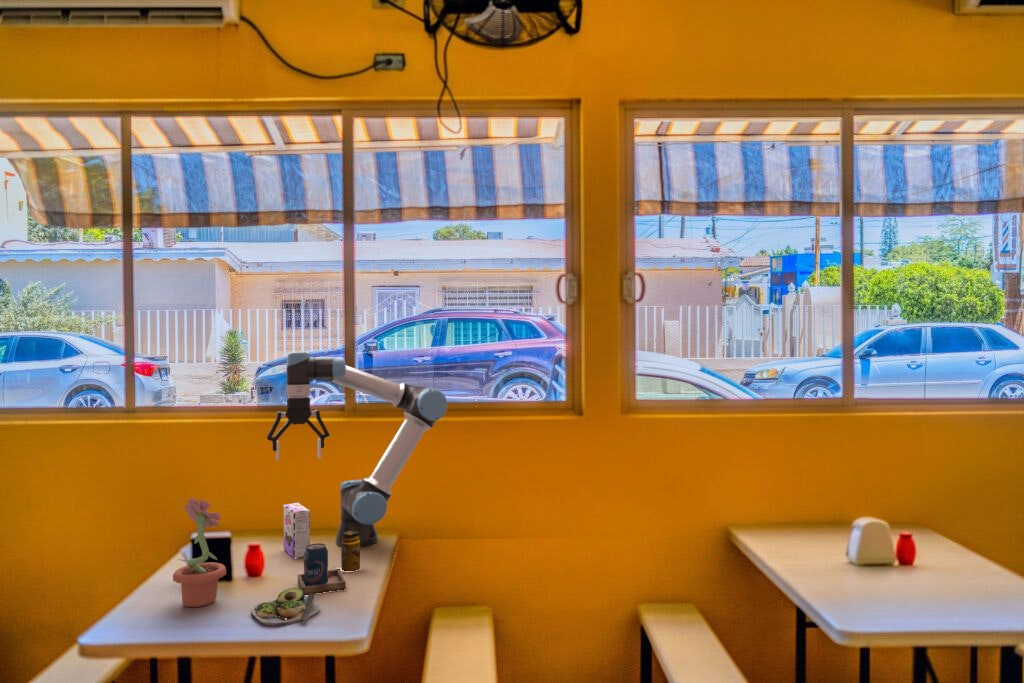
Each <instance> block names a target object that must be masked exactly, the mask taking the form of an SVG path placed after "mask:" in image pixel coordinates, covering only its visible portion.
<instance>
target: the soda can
mask: <svg viewBox="0 0 1024 683" xmlns="http://www.w3.org/2000/svg"><path fill="white" fill-rule="evenodd" d="M328 570H329V550H328V548H327V547H326V544H325V543H310V545H308V546H306V550H305V552H304V558H303V574H304V584H305V586H312V585H319V584H326V583H327V582H328Z"/></svg>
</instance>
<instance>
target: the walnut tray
mask: <svg viewBox="0 0 1024 683" xmlns="http://www.w3.org/2000/svg"><path fill="white" fill-rule="evenodd" d="M343 575H344V574H342V573H341V571H340V569H335V570H333V569H328V582H327V583H326V584H319V585H312V586H305V584H304V573H299V574H298V573H297V585H298V588H300V589H302V590H303V591H304V594H305V595H309V594H316V593H322V594H324V593H323V592H329V591H336V592H338V591H337V590H343V591H345V590H344V589H346V587H347V586H346V583H347V582H346V580H345V579H346V578H344V576H343ZM346 590H347V589H346ZM329 593H330V592H329ZM316 595H317V594H316Z"/></svg>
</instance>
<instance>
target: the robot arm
mask: <svg viewBox="0 0 1024 683" xmlns="http://www.w3.org/2000/svg"><path fill="white" fill-rule="evenodd" d="M286 357H287V358H286V396H287V399H286V412H282V411H277V413H276V419H275V420H274V422H273V424H272V427H271V428H270V431H269V432H268V434H267V436H266V439H267V440H268V441H271V442H272V451H273V452H275V461H276V462H280V441H279V440H278V439H279V438H280V437H281V436H282V435H283V434H284V433H285V431H286V430H287V429H288V428H289V427H290V426H291V425H295V426H297V425H304V424H307V425H308V426H309V427H310V428H311V429H312V430H313V431H314V433H316V435H317V436H318V438H317V458H318V459H322V449H324V447H325V439H326V438H328V437H330V433H329V431H328V429H327V427H326V425H325V423H324V422H323V419H322V418H321V413H320V410H318V409H315V410H313V411H311V398H310V397H309V396H310V395H311V386H310V385H311V380H325V381H328V382H332V383H334V384H337V385H340V386H342V387H345V388H348V389H351V390H354V391H357V392H360V393H362V394H366V395H369V396H372V397H374V398H376V399H377V398H378V399H380V400H383V401H386V402H389V403H391V404H392V406H393V407H395V408H398V409H401V410H402V411H404V412H403V415H404V420H403V422H402V423H401V425H400V426H399V429H398V430H397V432H396V434H395V435H394V436H393V438H392V440H391V441H390V443H389V445H388V446H387V448H386V450H385V451H384V453H383V455H382V456H381V458H380V459H379V460H378V463H377V464H376V466H375V467H374V470H373V471H372V473H371V474H370V476H368V477H364V478H363V479H353V480H345V481H342V482H341V483H340V490H339V491H340V524H339V526H338V528H337V529H338V530H337V534H336V537H335V544H336V545H337V546H338V547H341V542H342V540H343V539H342V537H343V535H342V534H343V533H344V532H346V531H358V532H359V540H360V548H361V547H367V546H370V545H371V546H372V545H373V544H375V543H377V542H378V532H377V529H376V526H375V524H376V523H379V522H380V521H381V520H382V519H383V518H384V517H385V515H386V513H387V509H388V505H387V504H388V502H389V500H390V498H391V497H392V490H391V488H392V486H393V485H394V484H395V481H396V480H397V478H398V476H400V473H401V472H402V471H403V468H404V467H405V465H406V464H407V462H408V459H410V457H411V455H412V454H413V452H414V451H415V448H416V447H417V445H418V444H419V443H420V440H421V438H422V437H423V435H424V433H425V432H426V431H429V430H432V428H433V426H434V425H435V423H436V422H437V421H439V420H441V418H443V417H444V416H445V415H446V413H447V410H448V401H447V397H446V396H445V394H444V393H443V392H442V391H441V390H439V389H438V388H435V387H425V386H417V385H410V384H408V383H404V382H401V383H397V382H394V381H391V380H388V379H385V378H383V377H380V376H376V375H375V374H371V373H369V372H365V371H363V370H360V369H358V368H355V367H351V366H349V365H347V364H346V360H345V358H344V357H342V356H339V357H338V356H316V357H313V356H311V355H310V352H308V351H290V352H288V353H287V355H286ZM312 416H313V417H314V418H316V421H317V422H318V424H319V425H320V427H321V429H322V431H323V433H322V432H321V431H320V430H319V429H318V428H317V427H316V426H315V424H313V422H311V421H310V418H311V417H312ZM284 417H286V418H287V420H286V422H285V423H284V424H283V426H281V428H279V430H278V431H277V433H276V434H275V432H276V429H277V428H278V426H279V424H280V422H281V420H282V419H284ZM274 434H275V435H274Z"/></svg>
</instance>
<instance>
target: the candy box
mask: <svg viewBox="0 0 1024 683" xmlns="http://www.w3.org/2000/svg"><path fill="white" fill-rule="evenodd" d="M282 509H283V511H282V512H283V550H285V551H284V552H285V553H287V555H288V556H290V557H291V559H293V560H296V559H295V558H299V559H302V558H301V557H304V552H305V550H306V546H308V545H310V544H311V543H310V542H311V541H310V540H311V539H310V537H311V536H310V535H311V534H310V533H311V529H310V528H311V526H310V525H311V520H310V518H311V517H310V516H311V512H310V511H311V510H310V509H309V508H307V507H305V506H304V505H302V504H301V503H300V502H294V503H287V504H283V508H282Z"/></svg>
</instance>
